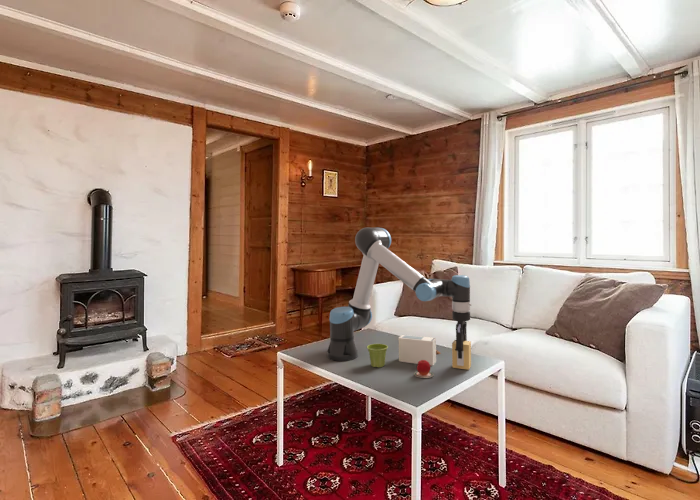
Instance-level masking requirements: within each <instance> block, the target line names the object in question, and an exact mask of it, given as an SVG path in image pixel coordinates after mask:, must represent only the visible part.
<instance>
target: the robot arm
mask: <svg viewBox="0 0 700 500" xmlns="http://www.w3.org/2000/svg"><path fill="white" fill-rule="evenodd" d="M354 239H355V240H354V241H355V246H356V247H357V249H358V250H359V251H360V252H361V253H362V255H363V257H362V260H361V265H360V269H359V272H358V276H357V279H356V284H355V285H356V286H355V289H354V293H353V298H352V299H350V300H349V301H348V305H347V306H339V307H334V308H333V309H331V310H330V313H329V319H328V320H329V333H330V334H329V339H330V340H329V343H328V348H327V351H326V357H327V359H329V360H331V359H332V361H337V362H342V361H344V362H345V361H352V360H354V359H357V357H358V355H359V352H358V348H357V345H356V343H355V337H354V336H355V332H356V331H357V330H360V329H363V328H366V327H367V326H368V325H370V323H371V321H372V318H373V312H372V309H371V308H372V306H371V304H370V301H371V296H372V293H373V288H374V285H375V281H376V277H377V272H378V268H379V265H381V267H383V268H385V269H386V270H387V271H388V272H389V273H391V274H392V275H393V276H395V278H397V279H398V280H399V281H401V282H402V283H403V284H405V286H407V287H408V288H409V289H411V290H413V291H414V293H415V296H416V298H417V299H418V300H419V301H421V302H431V301H433V300H434V299H436V298H439V297H451V310H452V315H451V316H452V320H454V321H457V323H456V324H455V340H456V349H455V350H456V351H457V365H459V366H464V351H463V341H468V337H467V322H469V321H470V320H471V311H470V310H471V307H472V303H471V285H470V284H471V282H470V281H471V280H470V277H469V276H468V275H465V274H464V275H463V274H462V275H461V274H460V275H457V274H456V275H453V276H451V279H442V278H441V279H440V278H428V279H427V278H426V277H425V276H424V275H422V274H421V273H420V272H419V271H417V270H416V269H415V268H413V267H412V266H411V265H409V264H408V263H407V262H405V261H404V260H403V259H402V258H400V257H399V256H398V255H396V254H395V253H394V252H392V251H391V250H390V246H391V244H392V237H391V234H390V232H389V231H388V230H387V229H386V228H383V227H377V226H376V227H363V228H361V229H359V231H357V233H356V235H355V237H354Z"/></svg>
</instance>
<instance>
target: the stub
mask: <svg viewBox="0 0 700 500" xmlns="http://www.w3.org/2000/svg"><path fill="white" fill-rule="evenodd" d="M451 348H452V350H451V353H452V355H451V356H452V357H451V358H452V359H451V360H452V361H451V362H452V368H453V369H460V370H461V369H462V370H467V371H468V370H470V368H471V367H472V341H470V340H469V341H468V340H467V341H463V351H464V366H459V365H457V351H456V350H455V349H456V339H454V340H453V341H452V343H451Z"/></svg>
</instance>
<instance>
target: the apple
mask: <svg viewBox="0 0 700 500" xmlns="http://www.w3.org/2000/svg"><path fill="white" fill-rule="evenodd" d="M416 370H417V371H415V372H414V373H413V375H414V376H415V377H417V378H422V379H428V378H433V376H434V374H435V373H433V372H431V365H430V364H429V362H428V361H426V360H421V361H419V362H418V364H417V366H416Z"/></svg>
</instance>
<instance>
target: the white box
mask: <svg viewBox="0 0 700 500" xmlns="http://www.w3.org/2000/svg"><path fill="white" fill-rule="evenodd" d="M436 350H437V338H436V337H432V336H431V337H430V336H420V335H409V334H408V335H407V334H406V335H405V334H402V335H400V336H398V362H401V363H402V362H403V363H410V364H417V365H418V362H419V361H421V360H426V361H428V362H429V364H430V367H433V366H434V365H435V364H436V363H437V355H436Z"/></svg>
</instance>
